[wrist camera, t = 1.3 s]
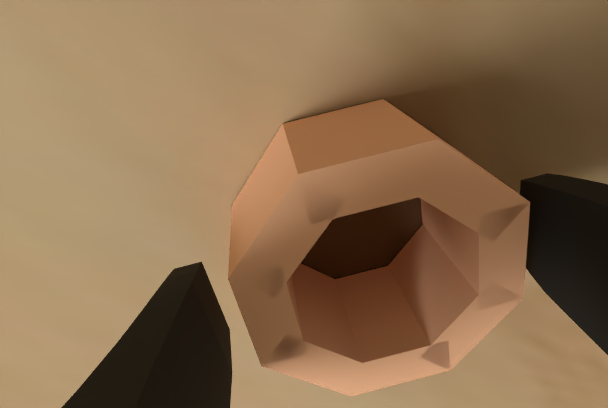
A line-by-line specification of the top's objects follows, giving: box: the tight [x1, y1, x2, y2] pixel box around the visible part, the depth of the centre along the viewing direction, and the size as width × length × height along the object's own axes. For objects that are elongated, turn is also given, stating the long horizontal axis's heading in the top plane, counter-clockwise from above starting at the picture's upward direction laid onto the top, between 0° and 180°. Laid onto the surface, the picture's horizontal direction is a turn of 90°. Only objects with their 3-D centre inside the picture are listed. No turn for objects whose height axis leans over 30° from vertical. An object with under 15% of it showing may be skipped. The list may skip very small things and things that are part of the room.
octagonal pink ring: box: [228, 99, 530, 396], centre depth 9 cm, size 6×6×3 cm
